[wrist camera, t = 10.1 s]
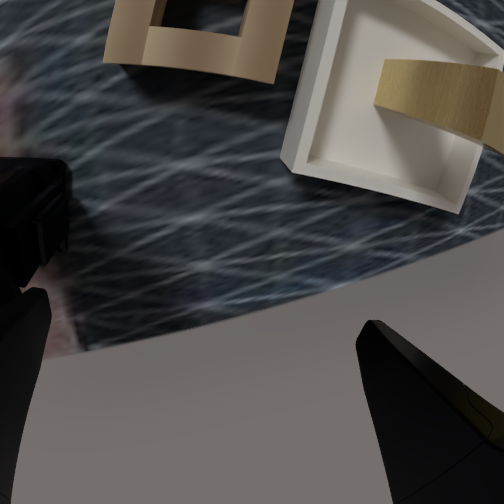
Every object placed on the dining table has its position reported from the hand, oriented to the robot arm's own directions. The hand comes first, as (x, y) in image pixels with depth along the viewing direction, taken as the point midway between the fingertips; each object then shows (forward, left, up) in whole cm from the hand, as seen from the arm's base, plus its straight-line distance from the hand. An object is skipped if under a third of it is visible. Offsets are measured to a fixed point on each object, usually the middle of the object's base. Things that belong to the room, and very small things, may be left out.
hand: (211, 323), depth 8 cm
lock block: (-2, +10, -12) cm, 16 cm away
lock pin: (+10, +8, -11) cm, 17 cm away
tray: (+10, +8, -12) cm, 18 cm away
